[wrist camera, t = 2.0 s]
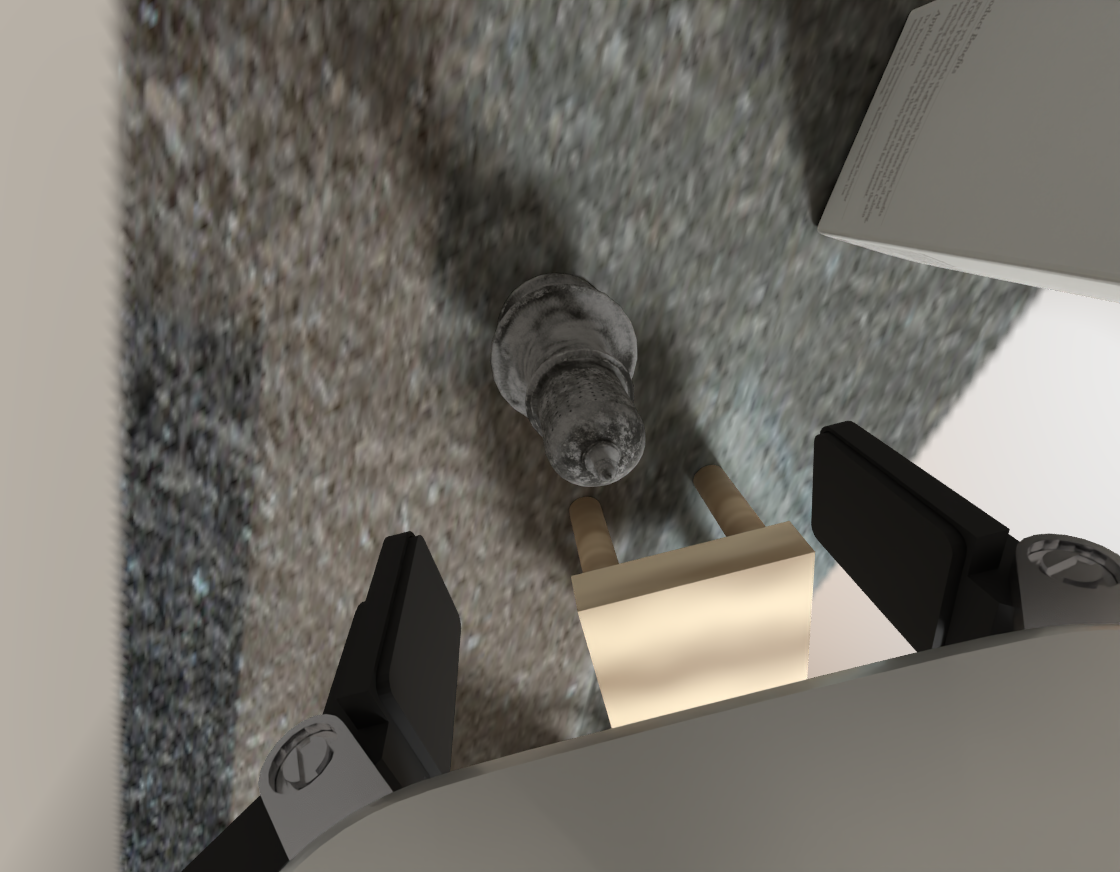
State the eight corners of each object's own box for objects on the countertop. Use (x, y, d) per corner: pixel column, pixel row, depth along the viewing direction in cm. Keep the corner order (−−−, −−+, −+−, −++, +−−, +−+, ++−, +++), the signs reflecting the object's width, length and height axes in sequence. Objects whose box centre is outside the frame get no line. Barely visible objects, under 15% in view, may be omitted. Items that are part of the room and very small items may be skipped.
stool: (555, 496, 27) (577, 611, 20) (732, 451, 27) (815, 552, 20) (588, 616, 32) (615, 741, 25) (738, 578, 32) (806, 693, 25)
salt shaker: (472, 286, 21) (455, 408, 11) (604, 249, 21) (714, 336, 11) (511, 405, 24) (526, 590, 14) (627, 373, 24) (731, 534, 14)
